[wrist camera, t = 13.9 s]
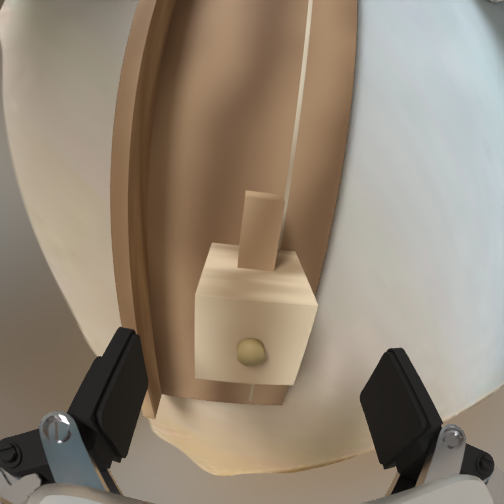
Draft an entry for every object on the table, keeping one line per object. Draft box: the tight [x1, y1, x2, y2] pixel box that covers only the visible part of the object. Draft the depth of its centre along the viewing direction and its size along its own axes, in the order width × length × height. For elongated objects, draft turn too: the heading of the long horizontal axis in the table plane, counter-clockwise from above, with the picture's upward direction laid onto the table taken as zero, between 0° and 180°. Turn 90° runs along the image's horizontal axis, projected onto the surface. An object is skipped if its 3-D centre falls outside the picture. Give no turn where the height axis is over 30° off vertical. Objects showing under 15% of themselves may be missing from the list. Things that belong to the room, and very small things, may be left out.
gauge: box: [195, 191, 318, 385], centre depth 14 cm, size 5×12×7 cm, turn 173°
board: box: [110, 0, 357, 419], centre depth 14 cm, size 12×39×4 cm, turn 173°
